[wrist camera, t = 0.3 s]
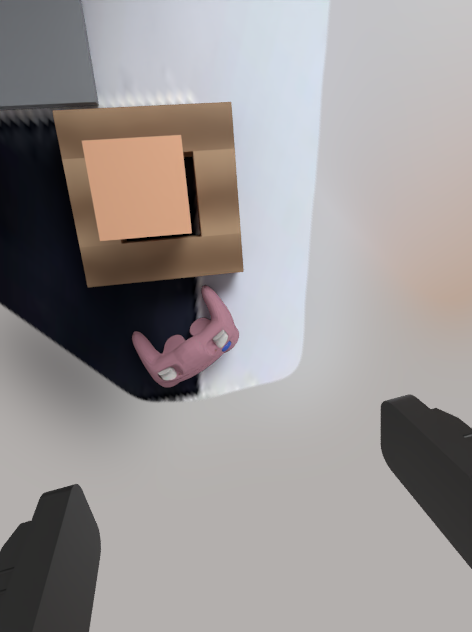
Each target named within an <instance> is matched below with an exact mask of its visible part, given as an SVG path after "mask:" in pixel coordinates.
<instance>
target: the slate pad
mask: <svg viewBox="0 0 472 632" xmlns="http://www.w3.org/2000/svg"><path fill="white" fill-rule="evenodd" d="M96 105H99V104H98V98H97V92H96V86H95V80H94V74H93V68H92V62H91V56H90V50H89V45H88V39H87V33H86V27H85V21H84V15H83V9H82V3H81V0H0V110H11V109H32V108H53V107H74V106H96Z"/></svg>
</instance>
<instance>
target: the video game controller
mask: <svg viewBox="0 0 472 632" xmlns="http://www.w3.org/2000/svg"><path fill="white" fill-rule="evenodd" d="M201 292H202V296H203V299H204V301H205V303H206V306H207V308H208V310H209V313H210V316H211V320H209V319H207V318H199V319H197V320H196V321H195V322H194V323H193V324H192V325H191V327H190V333H191V334H192V335H193V337H191V338H189V339H187V340H186V341H185V340H184V338H183V337H182V336H181V335H174V336H172V337H170V338H169V339H168V340H167V342H166V343H165V346H164V351H163V354H160V353H159V352H158V351H157V350H155V348H154V347H153V346H152V344H151V343H150V342H149V340H148V339H147V338H146V337H145V336H144V335H143V334H141V333H140V332H137V331H135V332H134V333H133V335H132V341H133V344H134V347H135V349H136V351H137V353H138V355H139V357H140V359H141V360H142V362H143V364H144V366H145V367H146V369H147V371H148V372H149V373H150V375H151V376H152V378H153V379H154V380H155V381H156V382H157V383H158V384H160V385H161V386H163V387H172V386H175V385H176V384H178V383H179V382H181V381H184V380H186V379H189V378H191V377H193V376H194V375H196V374H198V373H200V372H201V371H203V370H204V369H206V368H207V367H208V366H210V365H211V364H212V363H214V362H215V361H216V360H217V359H218V358H219V357H220V356H221V355H222V354H223V353H225V352H227V351H229V350H230V349H232V348H233V347H234V346H235V344H236V343H237V341H238V338H239V332H238V329H237V328H236V326H235V325H234V322H233V319H232V316H231V314H230V312H229V310H228V309H227V307H226V306H225V304H224V303H223V301H222V300H221V299H220V298H219V296H218V295H217V294H216V292H215V291H214V290H213V289H211V288H210V287H209V286H206V285H204V286H202V289H201Z"/></svg>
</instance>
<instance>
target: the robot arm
mask: <svg viewBox="0 0 472 632" xmlns="http://www.w3.org/2000/svg"><path fill="white" fill-rule="evenodd" d="M381 449H382V454H383V456H384V459H385V461H386V463H387V465H388V466H389V468H390V469H391V471H392V472H393V473H394V474H395V476H396V477H397V478H398V479H399V480H400V482H401V483H402V484H403V485H404V487H405V488H406V489H407V490H408V491H409V493H410V494H411V495H412V496H413V498H414V499H415V500H416V501H417V502H418V504H419V505H420V506H421V507H422V509H423V510H424V511H425V512H426V513H427V515H428V516H429V517H430V518H431V520H432V521H433V522H434V523H435V525H436V526H437V527H438V528H439V529H440V531H441V532H442V533H443V534H444V535H445V537H446V538H447V539H448V540H449V542H450V543H451V544H452V545H453V547H454V548H455V549H456V550H457V551H458V553H459V554H460V555H461V556H462V558H463V559H464V560H465V561H466V563H467V564H468V565H469V566H470V567H471V569H472V428H470V427H469V426H468V425H467V424H465V423H464V422H463V421H461V420H460V419H459V418H457V417H455V416H453V415H451V414H448V413H446V412H444V411H442V410H439V409H437V408H434V409H430V408H428V407H427V406H426V405H425V404H424V403H422V402H421V401H420V400H419V399H417V398H416V397H415V396H413V395H405V396H402V397H398V398H394V399H391V400H387V401H384V402H383V403H382V404H381ZM100 542H101V541H100V533H99V529H98V526H97V523H96V521H95V519H94V517H93V514H92V512H91V510H90V507H89V505H88V503H87V500H86V498H85V496H84V493H83V491H82V489H81V487H80V486H79V485H78V484H75V485H71V486H67V487H64V488H60V489H57V490H53V491H49V492H46V493H43V494H42V496H41V497H40V499H39V502H38V505H37V507H36V510H35V513H34V515H33V518H32V521H28V522H25V523H21V524H20V525H19V526H18V528H17V529H16V530H15V531H14V533H13V534H12V535H11V537H10V538H9V539H8V541H7V542H6V543H5V544H4V546H3V547H2V549H1V551H0V632H89V627H90V621H91V614H92V607H93V600H94V594H95V587H96V581H97V573H98V567H99V560H100V552H101V543H100Z"/></svg>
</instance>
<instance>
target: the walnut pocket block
mask: <svg viewBox="0 0 472 632" xmlns="http://www.w3.org/2000/svg"><path fill="white" fill-rule="evenodd" d="M52 112H53V117H54V121H55V126H56V131H57V136H58V141H59V146H60V151H61V156H62V161H63V166H64V171H65V176H66V181H67V186H68V191H69V196H70V201H71V206H72V211H73V216H74V221H75V226H76V231H77V236H78V241H79V246H80V251H81V256H82V261H83V266H84V271H85V276H86V281H87V286H88V287H97V286H107V285H117V284H127V283H137V282H147V281H156V280H166V279H176V278H186V277H196V276H206V275H216V274H226V273H235V272H243V258H242V244H241V231H240V217H239V203H238V189H237V176H236V162H235V148H234V134H233V120H232V107H231V102H220V103H199V104H179V105H158V106H137V107H116V108H95V109H74V110H53V111H52ZM171 135H181V139H182V148H183V157H192V158H193V168H194V177H195V187H196V196H197V206H198V216H199V225H200V235H192V236H181V237H170V238H158V239H147V240H136V241H127V239H120V240H108V241H100V238H99V233H98V227H97V222H96V217H95V211H94V206H93V200H92V195H91V189H90V184H89V178H88V173H87V168H86V162H85V157H84V151H83V146H82V141H84V140H101V139H118V138H136V137H153V136H171Z"/></svg>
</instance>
